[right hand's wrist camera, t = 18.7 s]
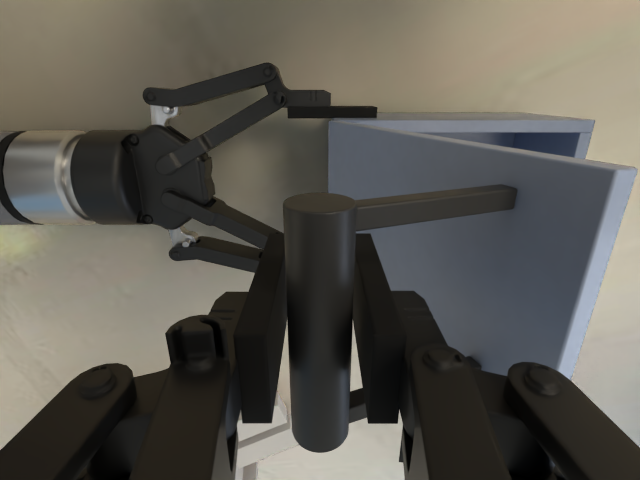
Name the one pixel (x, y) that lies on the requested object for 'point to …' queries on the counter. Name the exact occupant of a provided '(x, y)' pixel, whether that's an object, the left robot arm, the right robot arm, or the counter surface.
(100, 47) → the counter surface
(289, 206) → the door
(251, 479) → the toy
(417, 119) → the chest
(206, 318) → the right robot arm
